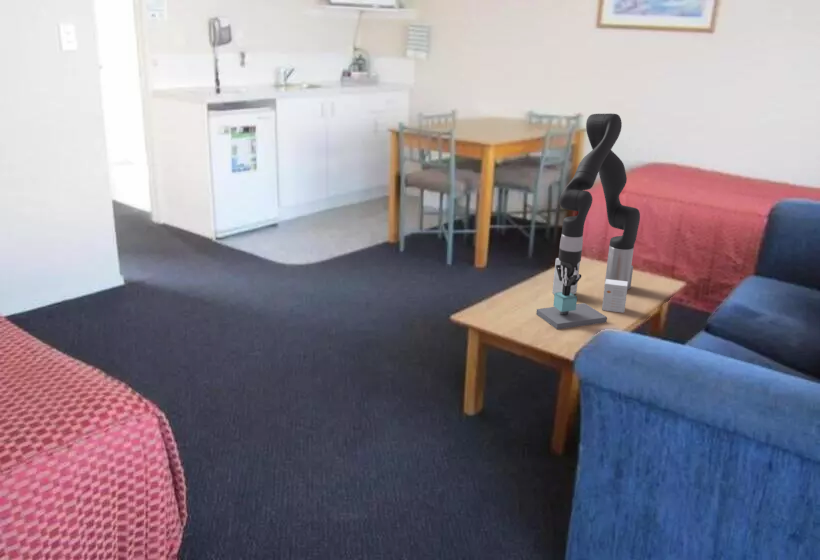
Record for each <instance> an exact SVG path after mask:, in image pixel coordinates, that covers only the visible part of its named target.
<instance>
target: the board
mask: <svg viewBox="0 0 820 560" xmlns="http://www.w3.org/2000/svg"><path fill="white" fill-rule="evenodd" d="M535 315H537V316H538V317H539V318H541V319H542V320H544V321H545V322H546V323H548V325H551V326H552V327H553V328H555V329H556V330H562V329H568V328H569V329H571V328H576V327H583V326H589V325H598V324H605V322H606V323H607V320H608V316H606V315H605V314H603V313H601V312H599V311H598V310H596V309H595V308H593V307H592V306H590V305H588V304H587V303H585V302H583V303H576V310H572V311H569V313H568V315H561V314H560V310H558V309H557V308H556V307H554V306H551V307H550V306H549V307H544V308H536V312H535Z"/></svg>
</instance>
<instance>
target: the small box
mask: <svg viewBox="0 0 820 560" xmlns="http://www.w3.org/2000/svg"><path fill="white" fill-rule="evenodd" d="M604 285H605V286H604V289H603V297H602V307H601V310H602V311H607V312H613V313H614V312H616V313H622V314H624V313H625V309H626V303H627V302H626V301H627V296H628V290H627V286H628V281H619V280H610V279H606V281H605V280H604Z"/></svg>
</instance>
